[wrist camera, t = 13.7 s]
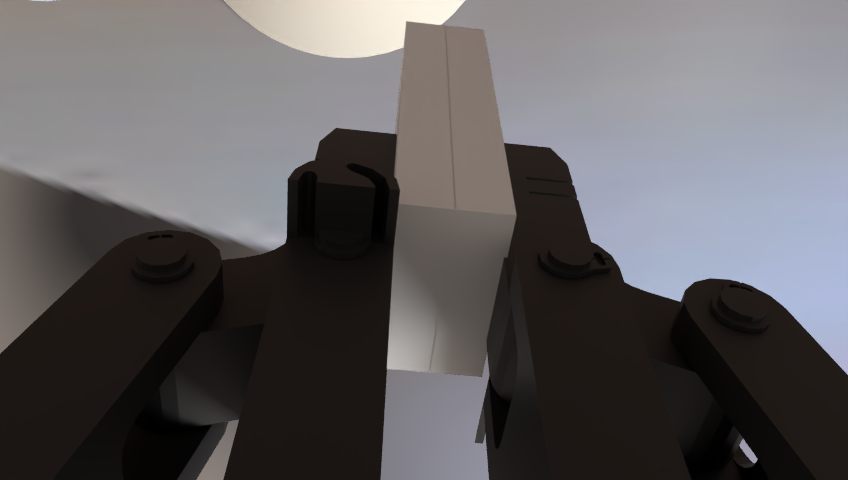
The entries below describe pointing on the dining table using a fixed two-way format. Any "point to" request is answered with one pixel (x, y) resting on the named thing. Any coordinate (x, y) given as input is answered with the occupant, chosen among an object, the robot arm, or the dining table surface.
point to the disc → (341, 23)
